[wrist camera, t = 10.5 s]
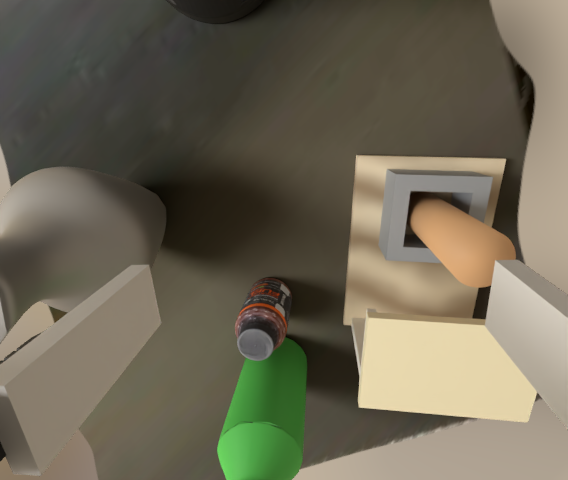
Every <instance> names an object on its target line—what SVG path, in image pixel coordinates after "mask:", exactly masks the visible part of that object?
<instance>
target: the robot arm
mask: <svg viewBox="0 0 568 480" xmlns="http://www.w3.org/2000/svg"><path fill="white" fill-rule="evenodd" d="M166 1H167V2H168V3H170V4H171V5H172V6H173V7H174V8H176V9H177V10H178V11H180V12H181V13H182V14H184V15H186V16H188V17H190V18H192V19H194V20H197V21H200V22H205V23H213V24H218V23H227V22H231V21H234V20H237V19H240V18H242V17H244V16H246V15H247V14H249V13H250V12H252V11H253V10H254V9H256V8H257V7H258V6H259V5H260V4H261V3H262V2H263V1H264V0H166ZM160 324H161V320H160V315H159V310H158V305H157V301H156V296H155V291H154V286H153V281H152V276H151V272H150V267H149V265H131V266H129V267H128V268H127V269H125V270H124V271H123V272H121V273H120V274H119V275H117V276H116V277H115V278H113V279H112V280H111V281H109V282H108V283H107V284H106V285H104V286H103V287H102V288H100V289H99V290H98V291H96V292H95V293H94V294H92V295H91V296H90V297H88V298H87V299H86V300H85V301H83V302H82V303H81V304H79V305H78V306H77V307H75V308H74V309H73V310H71V311H70V312H69V313H67V314H66V315H65V316H63V317H62V318H61V319H60V320H58V321H57V322H56V323H54V324H53V325H52V326H50V327H49V328H48V329H46V330H45V331H44V332H42V333H40V334H38V335H36V336H34V337H32V338H31V339H29V340H28V341H27V342H25V343H24V344H23V345H21V346H20V347H19V348H17V351H13V352H12V353H11V354H9V355H8V356H7V357H6V358H4V361H0V461H1V460H2V459H3V458H4V457H6V459H7V461H8V463H9V465H10V468H11V470H12V472H13V474H23V475H37V476H41V475H42V474H43V473H44V472H45V470H46V469H47V468H48V467H49V465H50V464H51V463H52V461H53V460H54V459H55V458H56V456H57V455H58V454H59V453H60V451H61V450H62V449H63V448H64V446H65V445H66V444H67V442H68V441H69V440H70V438H71V437H72V436H73V435H74V434H75V432H76V431H77V430H78V429H79V427H80V426H81V425H82V423H83V422H84V421H85V420H86V418H87V417H88V416H89V415H90V413H91V412H92V411H93V409H94V408H95V407H96V406H97V404H98V403H99V402H100V401H101V399H102V398H103V397H104V395H105V394H106V393H107V392H108V390H109V389H110V388H111V387H112V385H113V384H114V383H115V382H116V380H117V379H118V378H119V376H120V375H121V374H122V373H123V371H124V370H125V369H126V368H127V366H128V365H129V364H130V362H131V361H132V360H133V359H134V357H135V356H136V355H137V354H138V352H139V351H140V350H141V349H142V347H143V346H144V345H145V343H146V342H147V341H148V340H149V338H150V337H151V336H152V335H153V333H154V332H155V331H156V329H157V328H158V327H159V326H160ZM485 327H486V328H487V330H488V331H489V332H490V333H491V335H492V336H493V337H494V338H495V340H496V341H497V342H498V343H499V345H500V346H501V347H502V348H503V350H504V351H505V352H506V353H507V355H508V356H509V357H510V358H511V360H512V361H513V362H514V363H515V365H516V366H517V367H518V368H519V370H520V371H521V372H522V374H523V375H524V376H525V377H526V379H527V380H528V381H529V382H530V384H531V385H532V386H533V387H534V389H535V390H536V391H537V392H538V394H539V395H540V396H541V397H542V399H543V400H544V401H545V402H546V404H547V405H548V406H549V407H550V409H551V410H552V411H553V412H554V414H555V415H556V416H557V417H558V419H559V420H560V421H561V422H562V423H563V425H564V426H565V427H566V429H567V430H568V295H567V294H566V293H564V292H563V291H562V290H560V289H559V288H557V287H556V286H555V285H553V284H552V283H550V282H549V281H547V280H546V279H545V278H543V277H542V276H540V275H539V274H537V273H536V272H535V271H533V270H532V269H530V268H529V267H528V266H526V265H525V264H523V263H522V262H521V261H519V260H495V265H494V271H493V278H492V284H491V290H490V296H489V303H488V309H487V315H486V322H485Z"/></svg>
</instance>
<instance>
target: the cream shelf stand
mask: <svg viewBox="0 0 568 480" xmlns="http://www.w3.org/2000/svg"><path fill="white" fill-rule="evenodd" d="M485 322H486V319H471V318H455V317H439V316H424V315H408V314H393V313H377V311H376V309H369V308H367V311H366V318H352V323H351V327H352V333H353V339H354V345H355V351H356V358H357V364H358V370H359V376H360V379H359V393H358V404H359V407H361V408H372V409H383V410H394V411H405V412H416V413H427V414H439V415H450V416H461V417H472V418H483V419H496V420H506V421H516V422H528V420H529V417H530V413H531V411H532V407H533V404H534V401H535V398H536V394H537V391H536V390H535V389H534V387H533V386H532V385H531V384H530V382H529V381H528V380H527V379H526V377H525V376H524V375H523V374H522V372H521V371H520V370H519V368H518V367H517V366H516V365H515V363H514V362H513V361H512V360H511V358H510V357H509V356H508V355H507V353H506V352H505V351H504V350H503V348H502V347H501V346H500V345H499V343H498V342H497V341H496V340H495V338H494V337H493V336H492V335H491V333H490V332H489V331H488V330H487V328H486V327H485Z"/></svg>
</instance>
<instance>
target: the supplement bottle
mask: <svg viewBox="0 0 568 480" xmlns="http://www.w3.org/2000/svg"><path fill="white" fill-rule="evenodd" d="M291 305H292V295H291V291H290V290H289V288H288V287H287V285H286V284H285V283H283V282H282V281H280V280H278V279H274V278H264V279H261V280H259V281H257V282H256V283H255V284H254V285H253V286H252V288H251V289H250V291H249V293H248V296H247V298H246V300H245V302H244V304H243V307H242V309H241V311H240V313H239V315H238V318H237V320H236V324H235V333H236V336H237V339H238V340H237V345H238V349H239V351H240V352H241V354H242V355H243V356H245V357H246V358H248V359H250V360H254V361H261V360H264V359H267V358H268V357H269V356H270V355H271V354H272V352H273V351H274V350H275V349H277V348H278V347H279V346H280V345H281V344H282V342H283V341H284V339H285V336H286V331H287V326H288V321H289V315H290V310H291Z"/></svg>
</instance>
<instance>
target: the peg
mask: <svg viewBox="0 0 568 480" xmlns="http://www.w3.org/2000/svg"><path fill="white" fill-rule="evenodd" d="M406 224H407V225H408V226H409V227H410V228H411V230H412V231H413V232H414V233H415V234H416V235H417V236H418V237H419V238H420V239H421V240H422V242H423V243H424V244H425V245H426V246H427V247H428V248H429V249H430V250H431V251H432V252H433V254H434V255H435V256H436V257H437V258H438V259H439V260H440V261H441V262H442V263H443V265H444V266H445V267H446V268H447V269H448V270H449V271H450V272H451V273H452V274H453V275H454V277H455V278H456V279H457V280H458V281H460V282H461V283H463V284H465V285H467V286H470V287H476V288H481V287H487V286H491V284H492V278H493V271H494V265H495V260H515V258H516V253H515V248H514V245H513V243H512V242H511V241H510V239H509V238H508V237H506V236H505V235H503V234H502V233H500V232H498V231H496V230H495V229H493V228H491V227H489V226H488V225H486V224H484V223H482V222H481V221H479V220H477V219H475V218H474V217H472V216H470V215H468V214H467V213H465V212H463V211H461V210H459V209H458V208H456V207H454V206H452V205H451V204H449V203H447V202H445V201H444V200H442V199H440V198H438V197H437V196H435V195H433V194H431V193H429V192H424V191H420V192H416V193H413V194H411V195H410V199H409V206H408V214H407V221H406Z"/></svg>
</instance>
